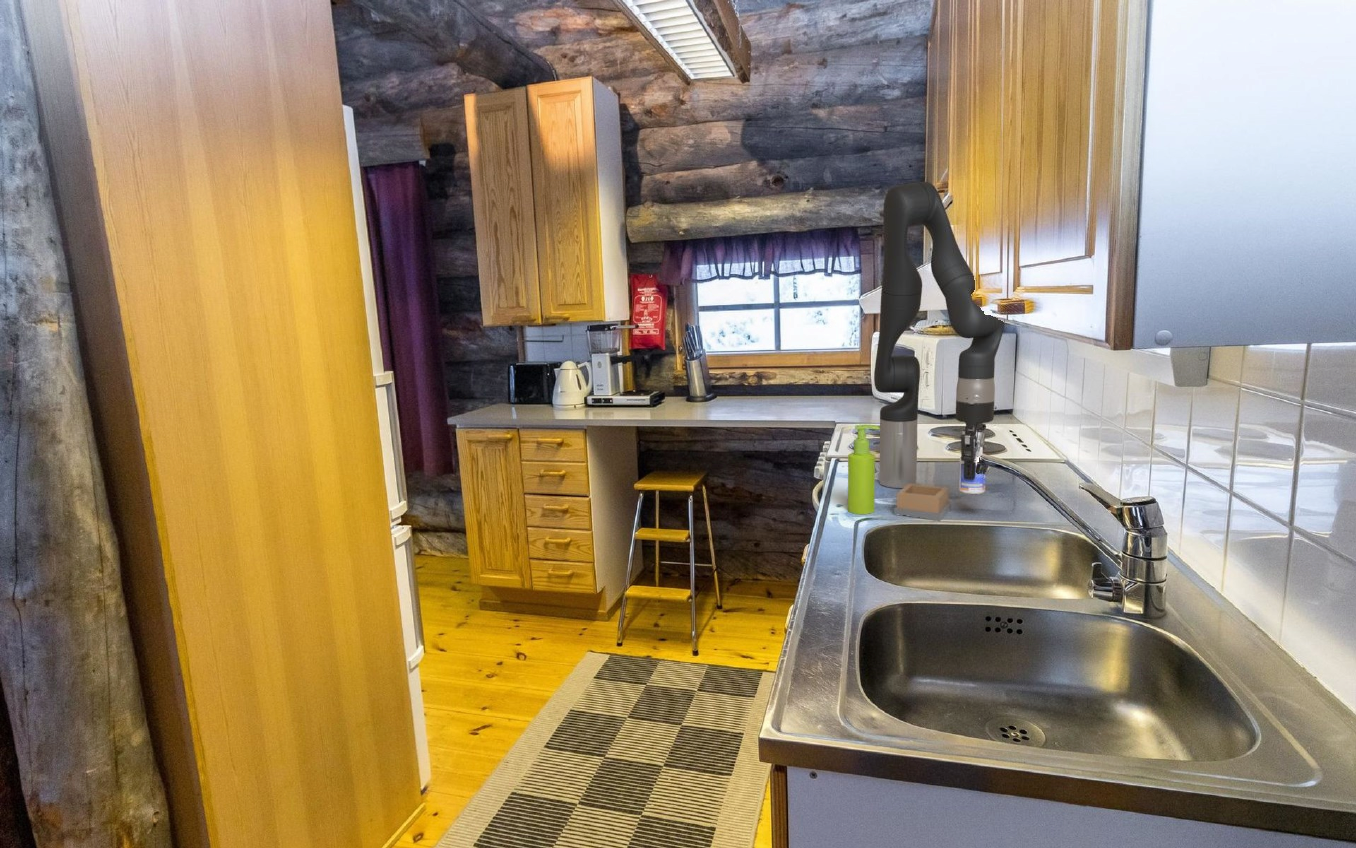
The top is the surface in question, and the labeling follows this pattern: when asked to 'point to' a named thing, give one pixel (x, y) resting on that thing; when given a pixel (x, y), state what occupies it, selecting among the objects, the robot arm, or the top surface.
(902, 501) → the box
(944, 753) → the top surface
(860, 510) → the soap dispenser
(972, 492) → the pill bottle
